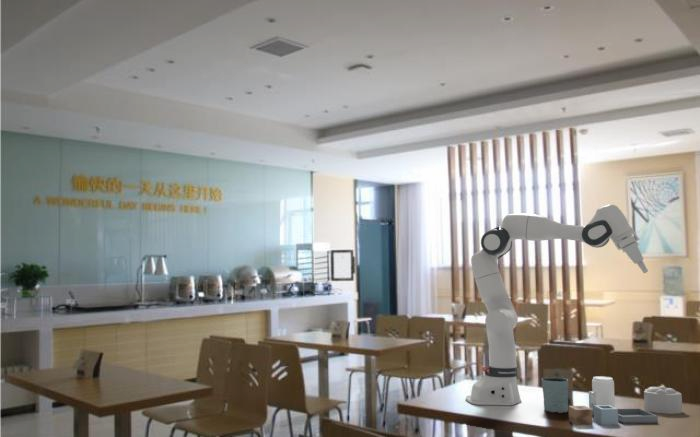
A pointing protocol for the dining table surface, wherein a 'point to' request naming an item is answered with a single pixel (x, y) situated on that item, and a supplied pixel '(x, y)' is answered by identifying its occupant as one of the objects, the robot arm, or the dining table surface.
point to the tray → (636, 416)
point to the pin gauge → (592, 401)
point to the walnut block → (580, 415)
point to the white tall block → (604, 390)
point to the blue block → (605, 414)
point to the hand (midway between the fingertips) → (646, 272)
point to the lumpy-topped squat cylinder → (662, 400)
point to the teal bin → (555, 394)
